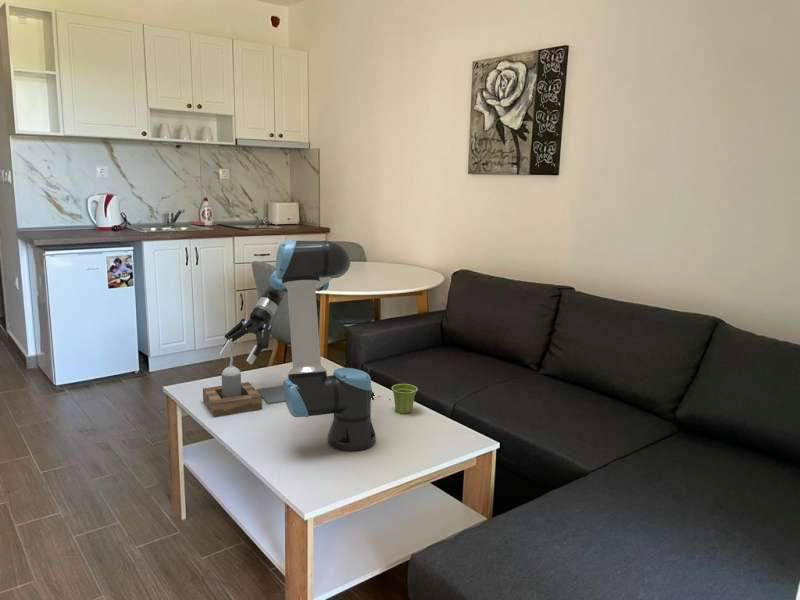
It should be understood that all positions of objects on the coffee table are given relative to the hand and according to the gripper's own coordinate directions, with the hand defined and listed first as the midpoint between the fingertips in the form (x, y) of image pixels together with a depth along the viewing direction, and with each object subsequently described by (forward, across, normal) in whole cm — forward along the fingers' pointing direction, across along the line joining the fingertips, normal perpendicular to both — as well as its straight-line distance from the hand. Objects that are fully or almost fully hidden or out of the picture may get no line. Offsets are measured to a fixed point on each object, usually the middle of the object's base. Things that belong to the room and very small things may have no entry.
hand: (235, 359), depth 213 cm
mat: (0, -8, -23) cm, 24 cm away
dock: (+14, -1, -10) cm, 17 cm away
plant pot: (-8, -55, -32) cm, 64 cm away
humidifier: (+14, -1, -10) cm, 17 cm away
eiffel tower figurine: (-10, -38, -35) cm, 53 cm away
